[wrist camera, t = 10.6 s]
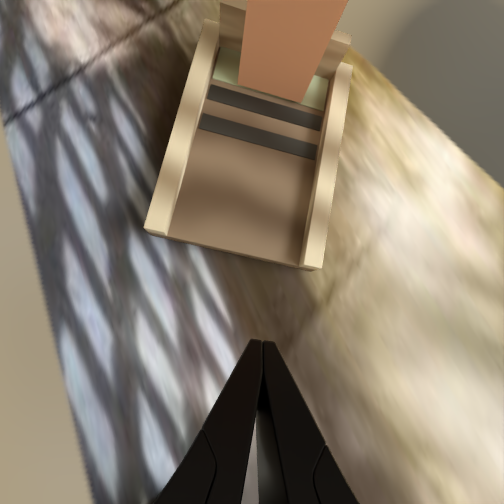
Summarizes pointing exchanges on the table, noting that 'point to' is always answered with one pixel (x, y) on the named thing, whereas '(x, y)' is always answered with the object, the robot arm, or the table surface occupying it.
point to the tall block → (286, 44)
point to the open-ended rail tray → (252, 155)
